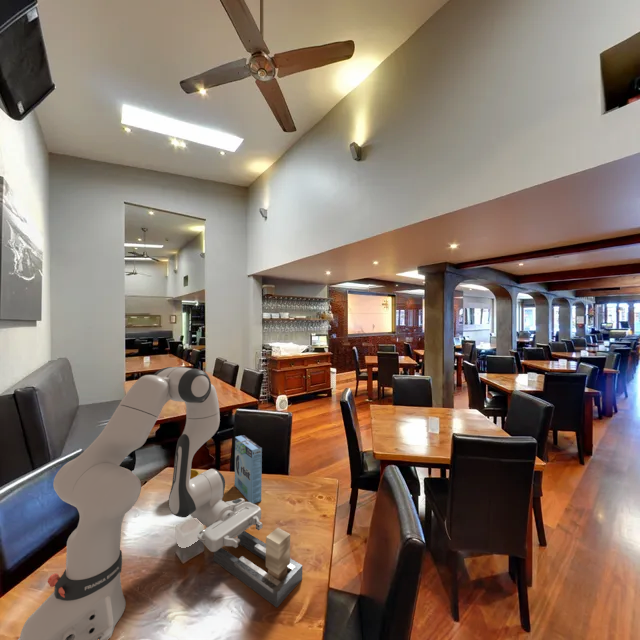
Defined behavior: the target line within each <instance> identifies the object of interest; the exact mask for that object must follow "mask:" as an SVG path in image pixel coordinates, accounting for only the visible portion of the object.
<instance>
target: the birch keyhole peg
mask: <svg viewBox="0 0 640 640" xmlns="http://www.w3.org/2000/svg"><path fill="white" fill-rule="evenodd" d="M265 543H266V561H265V568H267V573H268V574H270V575H271V576H273V577H274V578H276V579H277V580H279V581H280V582H281V581H282V580H283V579H284V578H285V577H286V576H287V575H288V574H289V573H288V572H287V566H288V565H289V564H290V558H291V533H289V532H287V531H286V530H284V529H281V528H280V527H276V528H275V529H274V530H273V531H271V532H270V533H269V534H268V535H266V537H265Z"/></svg>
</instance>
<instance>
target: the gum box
mask: <svg viewBox="0 0 640 640" xmlns="http://www.w3.org/2000/svg"><path fill="white" fill-rule="evenodd" d="M262 452H263V447H261V446H259V445H258V444H257V443H256V442H254V441H253V440H252V439H250V438H249V437H247V436H246V435H244V434H243V435H242V434H241V435H238V436H235V437H234V486H235V487H236V489H237V490H238V491H239V492H240V493H241V494H242V495H243V496H244V498H245V499H246V500H247V502H251V503H253V504H257V503H259V502H262V488H263V487H262V483H263V482H262V477H263V476H262V475H263V474H262V471H263V468H262V466H263V464H262V462H263V458H262V456H263V453H262Z"/></svg>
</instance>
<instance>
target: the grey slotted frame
mask: <svg viewBox="0 0 640 640" xmlns="http://www.w3.org/2000/svg"><path fill="white" fill-rule="evenodd" d="M237 538H238V539H240V545H239V546H241V547H243V548H245V549H246V550H248V551H249V552H251V553H252V554H254V555H255V556H257V557H259V558H260V559H262V560H263V561H265V562H266V542H264V541H262V540H261V539H259V538H257V537H255V536H254V535H252V534H250V533H249V532H247V530H245V531H244V532H242V533H241V534H239V535H238V536H237ZM213 561H214V562H215V563H216V564H218V565H219V566H220V567H222V568H223V569H225V570H226V571H227V572H228V573H230V574H231V575H232V576H234V577H235V578H237V579H238V580H239V581H240V582H242V583H243V584H244V585H246V586H247V587H249V588H250V589H251V590H253V591H254V592H255V593H256V594H257V595H259V596H261V598H263V599H264V600H266V601H267V602H269V603H270V604H271V605H273V606H274V607H275V608H278V607H279V606H280V605H281V604H282V603H283V602H284V600H285V599H286V598H287V597H288V596H289V595H290V593H291V592H292V591H293V590H294V589H295V588H296V587H297V586H298V585H299V584H300V583H301V581H302V580H303V564H301V563H300V562H297V561H296V560H294V559H292V557H290V564H289V565H288V566H287V572H288V573H289V574H288V575H287V576H286V577H285V578H284V579H283V580H282V581H281V582H280V581H279V580H277V579H276V578H274V577H273V576H271V575H270V574H268V571H267V572H266V571H265V570H264V569H263V568H261V567H259V566H257V564H254V563H253V562H252V561H251V560H249V559H247V558H246V557H245V556H243V555H242V556H240V557H239V558H238V557H237V556H235V555H233V554H232V553H230V552H229V551H227V550H226V549H225V548H224V547H221V548H220V549H219V550H217V551H216V552H213Z"/></svg>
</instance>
